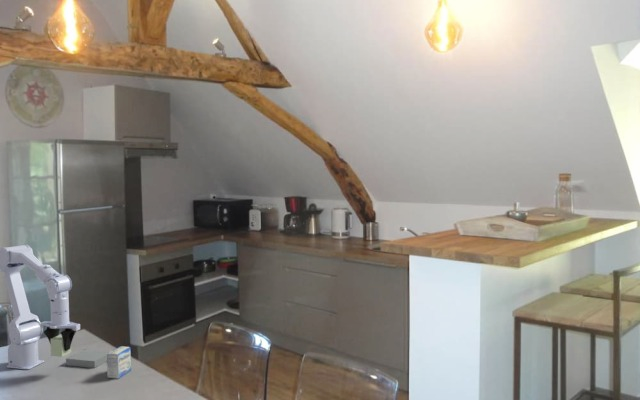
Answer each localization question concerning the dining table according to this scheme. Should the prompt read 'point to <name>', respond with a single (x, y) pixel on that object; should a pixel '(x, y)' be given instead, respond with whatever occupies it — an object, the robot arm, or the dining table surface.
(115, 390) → the dining table surface
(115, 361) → the medicine box
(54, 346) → the green block
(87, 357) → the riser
